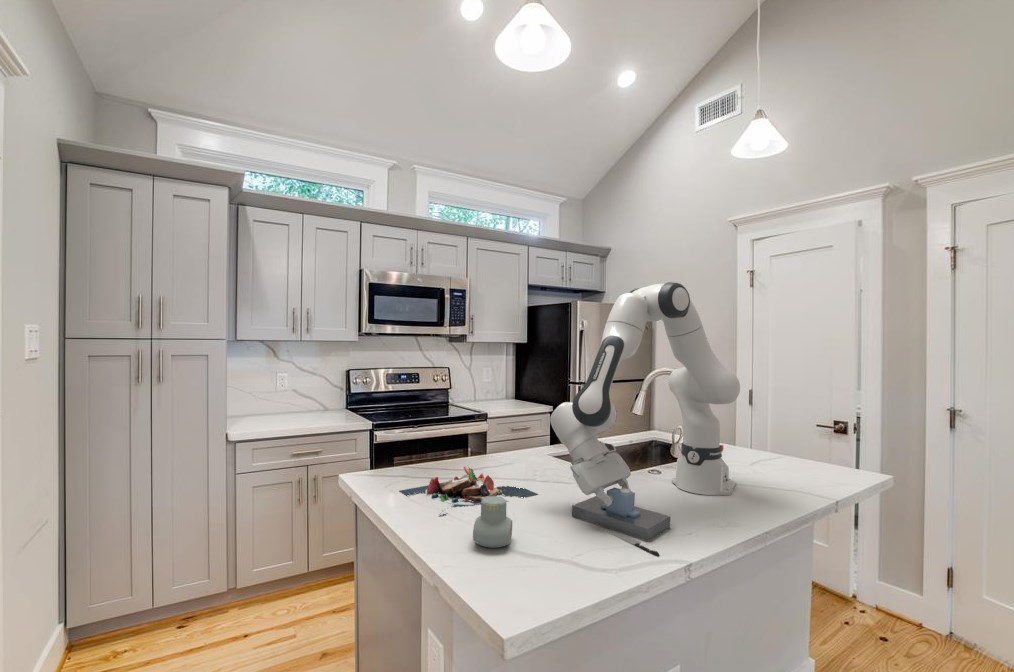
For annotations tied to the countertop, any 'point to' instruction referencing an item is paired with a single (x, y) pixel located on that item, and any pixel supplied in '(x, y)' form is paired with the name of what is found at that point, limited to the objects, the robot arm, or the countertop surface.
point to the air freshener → (493, 523)
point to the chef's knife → (632, 542)
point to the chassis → (622, 519)
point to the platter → (467, 490)
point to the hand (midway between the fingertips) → (620, 500)
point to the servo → (621, 502)
